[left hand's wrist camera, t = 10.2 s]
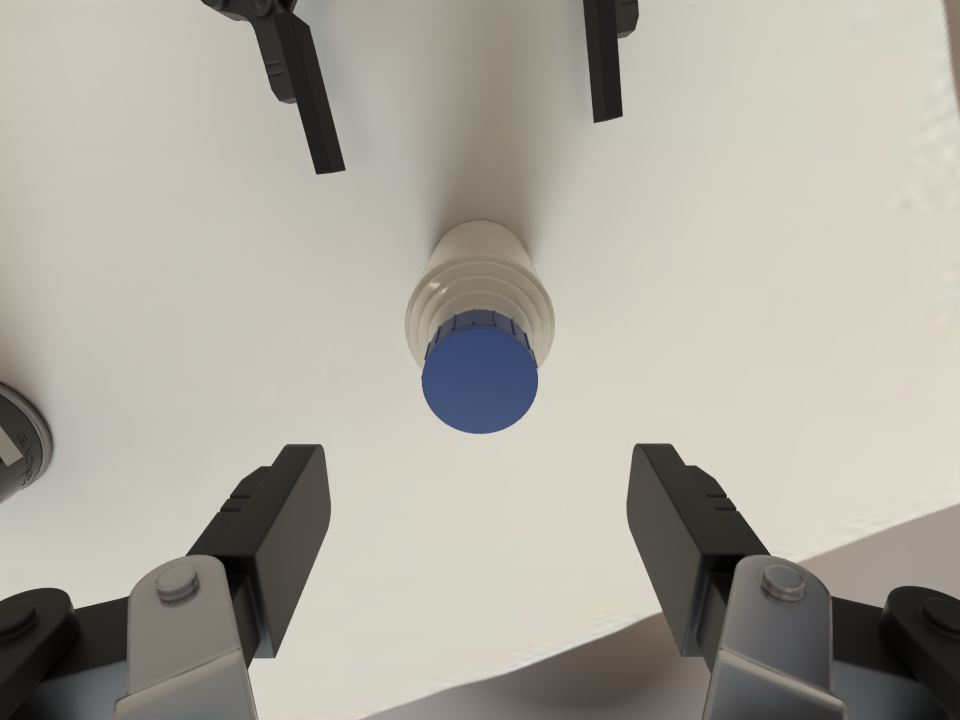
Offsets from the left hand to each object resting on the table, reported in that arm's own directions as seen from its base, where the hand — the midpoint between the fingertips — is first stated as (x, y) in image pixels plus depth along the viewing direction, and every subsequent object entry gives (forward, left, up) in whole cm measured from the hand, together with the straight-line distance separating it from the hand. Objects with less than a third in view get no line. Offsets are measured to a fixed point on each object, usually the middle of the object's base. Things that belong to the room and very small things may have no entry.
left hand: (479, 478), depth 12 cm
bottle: (0, 0, -23) cm, 23 cm away
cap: (0, 0, -6) cm, 6 cm away
